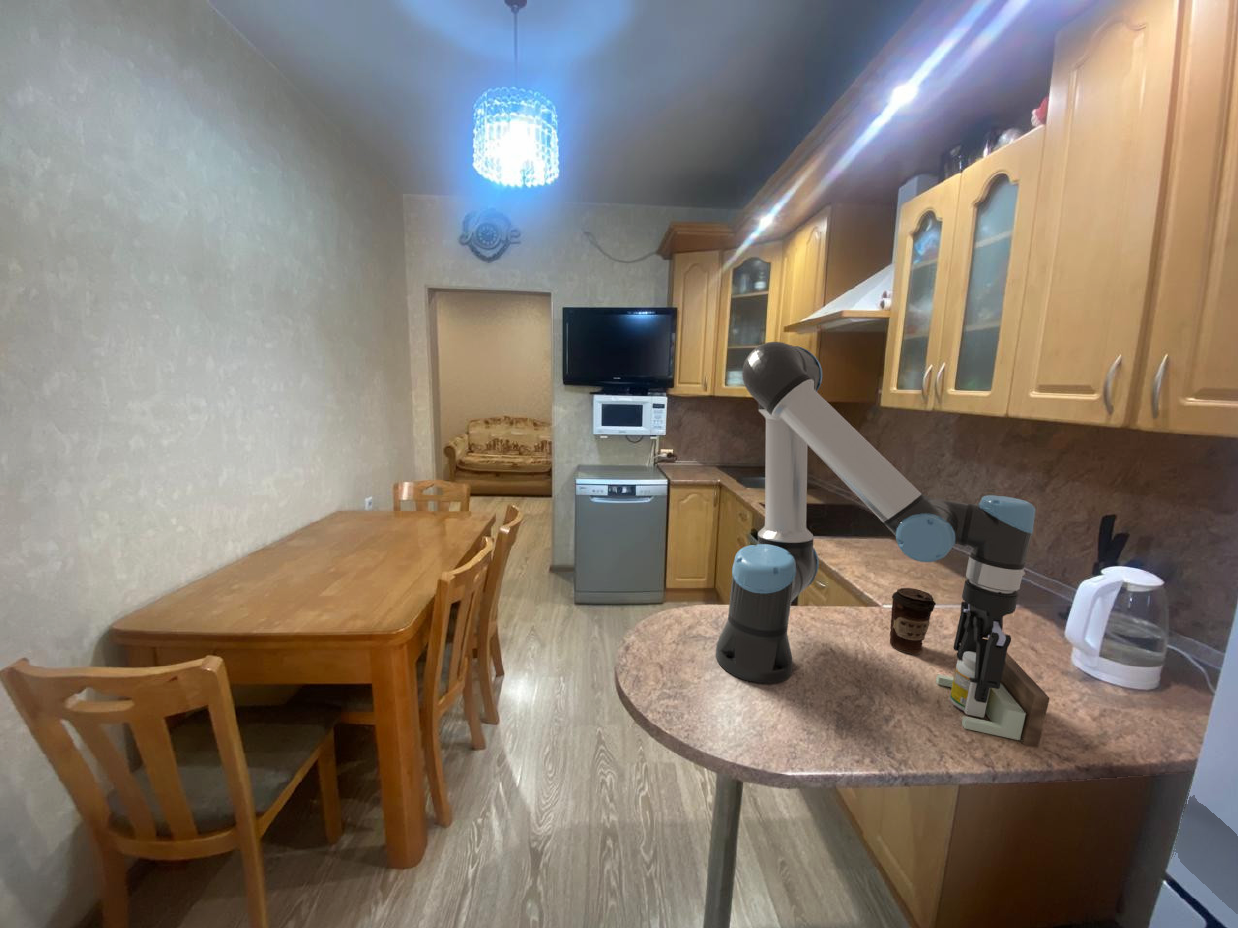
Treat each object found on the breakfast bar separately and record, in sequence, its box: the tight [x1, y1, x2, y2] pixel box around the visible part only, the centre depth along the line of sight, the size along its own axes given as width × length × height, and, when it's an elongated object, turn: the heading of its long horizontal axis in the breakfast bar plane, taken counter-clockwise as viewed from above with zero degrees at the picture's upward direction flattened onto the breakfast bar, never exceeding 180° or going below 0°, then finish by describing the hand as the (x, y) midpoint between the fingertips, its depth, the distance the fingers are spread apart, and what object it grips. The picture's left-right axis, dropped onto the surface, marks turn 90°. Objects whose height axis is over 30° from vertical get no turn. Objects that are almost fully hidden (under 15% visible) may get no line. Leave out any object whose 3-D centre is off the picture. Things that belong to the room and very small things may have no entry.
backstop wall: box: [1001, 652, 1051, 748], centre depth 85 cm, size 2×15×9 cm, turn 164°
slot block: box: [935, 674, 1026, 741], centre depth 87 cm, size 8×14×5 cm, turn 164°
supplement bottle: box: [949, 652, 976, 711], centre depth 87 cm, size 5×5×10 cm
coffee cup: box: [889, 587, 937, 655], centre depth 106 cm, size 9×8×13 cm
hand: (966, 703), depth 88 cm, fingers closed on supplement bottle, 5 cm apart
